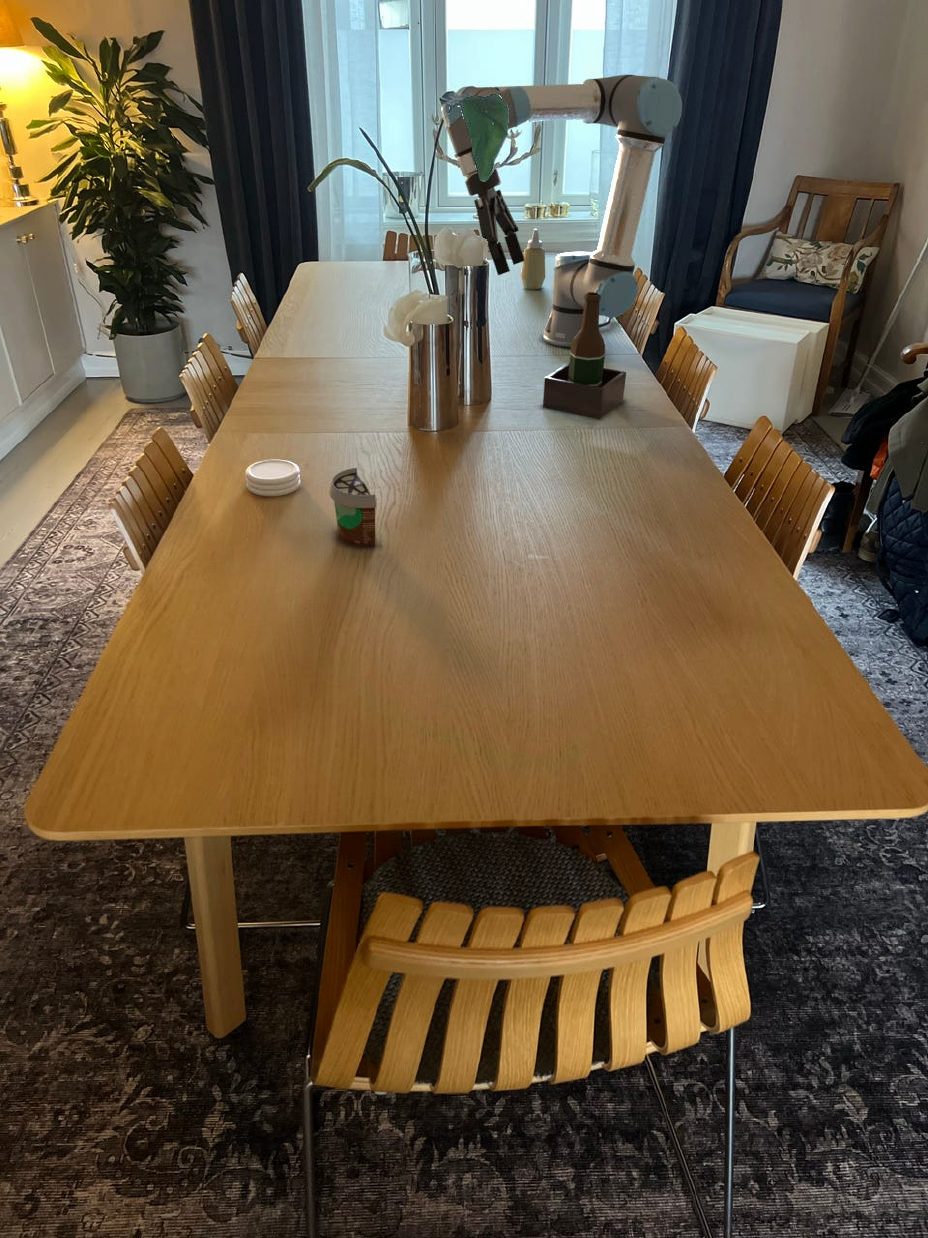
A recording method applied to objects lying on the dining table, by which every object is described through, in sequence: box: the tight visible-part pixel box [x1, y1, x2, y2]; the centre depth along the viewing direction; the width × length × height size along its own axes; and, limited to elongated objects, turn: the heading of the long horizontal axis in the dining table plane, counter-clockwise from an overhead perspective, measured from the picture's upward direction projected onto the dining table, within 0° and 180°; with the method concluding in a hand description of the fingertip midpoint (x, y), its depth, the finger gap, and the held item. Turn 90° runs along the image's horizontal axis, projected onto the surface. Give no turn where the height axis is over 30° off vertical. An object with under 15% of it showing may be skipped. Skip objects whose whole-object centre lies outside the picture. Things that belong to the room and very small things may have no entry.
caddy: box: [542, 362, 627, 420], centre depth 219 cm, size 14×14×7 cm
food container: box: [328, 467, 377, 548], centre depth 161 cm, size 12×6×10 cm, turn 21°
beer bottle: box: [568, 292, 606, 388], centre depth 214 cm, size 8×8×24 cm
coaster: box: [244, 459, 301, 498], centre depth 179 cm, size 10×10×4 cm
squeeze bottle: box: [520, 228, 546, 290], centre depth 308 cm, size 8×8×18 cm
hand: (511, 267), depth 219 cm, fingers open, 13 cm apart
